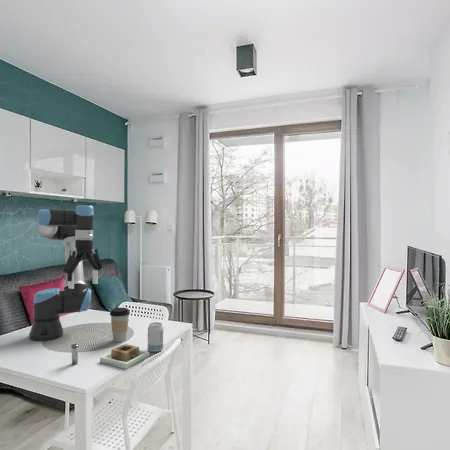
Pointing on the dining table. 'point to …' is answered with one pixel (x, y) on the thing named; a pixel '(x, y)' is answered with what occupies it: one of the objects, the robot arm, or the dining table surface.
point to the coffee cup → (119, 323)
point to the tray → (126, 365)
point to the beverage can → (155, 337)
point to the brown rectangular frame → (125, 353)
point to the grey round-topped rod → (74, 354)
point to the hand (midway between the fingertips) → (83, 286)
